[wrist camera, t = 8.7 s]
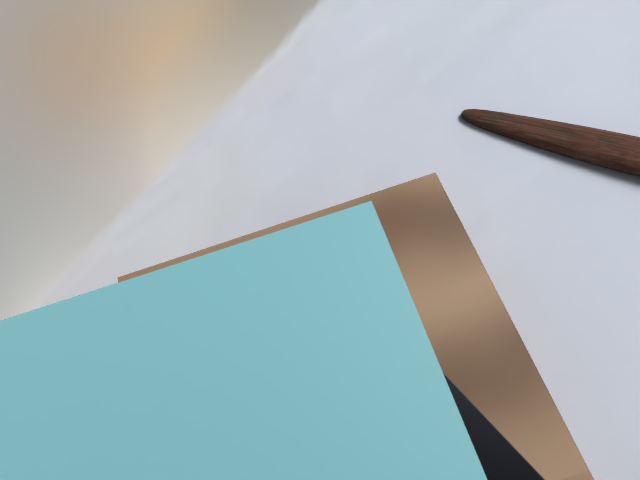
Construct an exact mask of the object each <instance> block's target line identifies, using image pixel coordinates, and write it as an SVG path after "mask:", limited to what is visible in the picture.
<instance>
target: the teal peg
mask: <svg viewBox="0 0 640 480" xmlns="http://www.w3.org/2000/svg"><path fill="white" fill-rule="evenodd" d="M0 480H487V478H486V475H485V473H484V470H483V468H482V466H481V463H480V461H479V458H478V456H477V454H476V451H475V449H474V446H473V444H472V442H471V439H470V437H469V434H468V432H467V429H466V427H465V425H464V422H463V420H462V417H461V415H460V413H459V410H458V408H457V405H456V403H455V401H454V398H453V396H452V393H451V391H450V389H449V386H448V384H447V381H446V379H445V377H444V374H443V372H442V369H441V367H440V364H439V362H438V360H437V357H436V355H435V352H434V350H433V348H432V345H431V343H430V340H429V338H428V336H427V333H426V331H425V328H424V326H423V324H422V321H421V319H420V316H419V314H418V312H417V309H416V307H415V304H414V302H413V299H412V297H411V295H410V292H409V290H408V287H407V285H406V283H405V280H404V278H403V275H402V273H401V271H400V268H399V266H398V263H397V261H396V259H395V256H394V254H393V251H392V249H391V247H390V244H389V242H388V239H387V237H386V234H385V232H384V230H383V227H382V225H381V222H380V220H379V218H378V215H377V213H376V210H375V208H374V206H373V203H372V201H369V202H366V203H363V204H360V205H357V206H353V207H350V208H347V209H344V210H341V211H338V212H335V213H332V214H329V215H326V216H323V217H320V218H316V219H313V220H310V221H307V222H304V223H301V224H298V225H295V226H292V227H289V228H286V229H283V230H279V231H276V232H273V233H270V234H267V235H264V236H261V237H258V238H255V239H252V240H249V241H245V242H242V243H239V244H236V245H233V246H230V247H227V248H224V249H221V250H218V251H215V252H212V253H208V254H205V255H202V256H199V257H196V258H193V259H190V260H187V261H184V262H181V263H178V264H175V265H171V266H168V267H165V268H162V269H159V270H156V271H153V272H150V273H147V274H144V275H141V276H137V277H134V278H131V279H128V280H125V281H122V282H119V283H116V284H113V285H110V286H107V287H104V288H100V289H97V290H94V291H91V292H88V293H85V294H82V295H79V296H76V297H73V298H70V299H67V300H63V301H60V302H57V303H54V304H51V305H48V306H45V307H42V308H39V309H36V310H33V311H29V312H26V313H23V314H20V315H17V316H14V317H11V318H8V319H5V320H2V321H0Z"/></svg>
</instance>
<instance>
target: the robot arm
mask: <svg viewBox="0 0 640 480" xmlns="http://www.w3.org/2000/svg"><path fill="white" fill-rule="evenodd" d="M443 374H444V373H443ZM444 377H445V379H446V381H447V384H448V386H449V389H450V391H451V393H452V396H453V398H454V401H455V403H456V405H457V408H458V410H459V413H460V415H461V417H462V420H463V422H464V425H465V427H466V429H467V432H468V434H469V437H470V439H471V442H472V444H473V446H474V449H475V451H476V454H477V456H478V458H479V461H480V463H481V466H482V468H483V470H484V473H485V475H486V478H487V480H545V479H544V478H543V477H542V476H541V475H540V474H539V473H538V472H537V471H536V469H535V468H534V467H533V466H532V465H531V464H530V463H529V462H528V461H527V460H526V459H525V458H524V457H523V456H522V455H521V454H520V453H519V452H518V451H517V449H516V448H515V447H514V446H513V445H512V444H511V443H510V442H509V441H508V440H507V439H506V438H505V437H504V436H503V435H502V434H501V433H500V432H499V431H498V430H497V428H496V427H495V426H494V425H493V424H492V423H491V422H490V421H489V420H488V419H487V418H486V417H485V416H484V415H483V414H482V413H481V412H480V411H479V410H478V408H477V407H476V406H475V405H474V404H473V403H472V402H471V401H470V400H469V399H468V398H467V397H466V396H465V395H464V394H463V393H462V392H461V391H460V390H459V388H458V387H457V386H456V385H455V384H454V383H453V382H452V381H451V380H450V379H449V378H448V377H447V376H446V375H445V374H444Z"/></svg>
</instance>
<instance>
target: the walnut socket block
mask: <svg viewBox="0 0 640 480" xmlns="http://www.w3.org/2000/svg"><path fill="white" fill-rule="evenodd" d="M369 201H372V203H373V206H374V208H375V210H376V213H377V215H378V218H379V220H380V222H381V225H382V227H383V230H384V232H385V234H386V237H387V239H388V242H389V244H390V247H391V249H392V251H393V254H394V256H395V259H396V261H397V263H398V266H399V268H400V271H401V273H402V275H403V278H404V280H405V283H406V285H407V287H408V290H409V292H410V295H411V297H412V299H413V302H414V304H415V307H416V309H417V312H418V314H419V316H420V319H421V321H422V324H423V326H424V328H425V331H426V333H427V336H428V338H429V340H430V343H431V345H432V348H433V350H434V352H435V355H436V357H437V360H438V362H439V364H440V367H441V369H442V372H443V373H444V374H445V375H446V376H447V377H448V378H449V379H450V380H451V381H452V382H453V383H454V384H455V385H456V386H457V387H458V388H459V390H460V391H461V392H462V393H463V394H464V395H465V396H466V397H467V398H468V399H469V400H470V401H471V402H472V403H473V404H474V405H475V406H476V407H477V408H478V410H479V411H480V412H481V413H482V414H483V415H484V416H485V417H486V418H487V419H488V420H489V421H490V422H491V423H492V424H493V425H494V426H495V427H496V428H497V430H498V431H499V432H500V433H501V434H502V435H503V436H504V437H505V438H506V439H507V440H508V441H509V442H510V443H511V444H512V445H513V446H514V447H515V448H516V449H517V451H518V452H519V453H520V454H521V455H522V456H523V457H524V458H525V459H526V460H527V461H528V462H529V463H530V464H531V465H532V466H533V467H534V468H535V469H536V471H537V472H538V473H539V474H540V475H541V476H542V477H543V478H544V479H545V480H594V479H593V477H592V475H591V473H590V471H589V469H588V467H587V465H586V463H585V461H584V459H583V457H582V455H581V453H580V451H579V450H578V448H577V446H576V444H575V442H574V440H573V438H572V436H571V434H570V432H569V430H568V428H567V426H566V424H565V422H564V421H563V419H562V417H561V415H560V413H559V411H558V409H557V407H556V405H555V403H554V401H553V399H552V397H551V395H550V393H549V391H548V390H547V388H546V386H545V384H544V382H543V380H542V378H541V376H540V374H539V372H538V370H537V368H536V366H535V364H534V362H533V360H532V359H531V357H530V355H529V353H528V351H527V349H526V347H525V345H524V343H523V341H522V339H521V337H520V335H519V333H518V331H517V329H516V328H515V326H514V324H513V322H512V320H511V318H510V316H509V314H508V312H507V310H506V308H505V306H504V304H503V302H502V300H501V299H500V297H499V295H498V293H497V291H496V289H495V287H494V285H493V283H492V281H491V279H490V277H489V275H488V273H487V271H486V269H485V268H484V266H483V264H482V262H481V260H480V258H479V256H478V254H477V252H476V250H475V248H474V246H473V244H472V242H471V240H470V238H469V237H468V235H467V233H466V231H465V229H464V227H463V225H462V223H461V221H460V219H459V217H458V215H457V213H456V211H455V209H454V207H453V206H452V204H451V202H450V200H449V198H448V196H447V194H446V192H445V190H444V188H443V186H442V184H441V182H440V180H439V178H438V177H437V175H436V173H433V174H430V175H427V176H424V177H420V178H417V179H414V180H411V181H408V182H405V183H402V184H399V185H396V186H393V187H390V188H387V189H384V190H381V191H378V192H375V193H372V194H369V195H366V196H363V197H360V198H357V199H354V200H351V201H348V202H345V203H342V204H339V205H336V206H333V207H330V208H327V209H324V210H321V211H318V212H315V213H312V214H309V215H306V216H303V217H300V218H297V219H294V220H291V221H288V222H284V223H281V224H278V225H275V226H272V227H269V228H266V229H263V230H260V231H257V232H254V233H251V234H248V235H245V236H242V237H239V238H236V239H233V240H230V241H227V242H224V243H221V244H218V245H215V246H212V247H209V248H206V249H203V250H200V251H197V252H194V253H191V254H188V255H185V256H182V257H179V258H176V259H173V260H170V261H167V262H164V263H161V264H158V265H155V266H152V267H148V268H145V269H142V270H139V271H136V272H133V273H130V274H127V275H124V276H121V277H118V283H119V282H122V281H125V280H128V279H131V278H134V277H137V276H141V275H144V274H147V273H150V272H153V271H156V270H159V269H162V268H165V267H168V266H171V265H175V264H178V263H181V262H184V261H187V260H190V259H193V258H196V257H199V256H202V255H205V254H208V253H212V252H215V251H218V250H221V249H224V248H227V247H230V246H233V245H236V244H239V243H242V242H245V241H249V240H252V239H255V238H258V237H261V236H264V235H267V234H270V233H273V232H276V231H279V230H283V229H286V228H289V227H292V226H295V225H298V224H301V223H304V222H307V221H310V220H313V219H316V218H320V217H323V216H326V215H329V214H332V213H335V212H338V211H341V210H344V209H347V208H350V207H353V206H357V205H360V204H363V203H366V202H369Z"/></svg>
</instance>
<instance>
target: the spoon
mask: <svg viewBox="0 0 640 480" xmlns="http://www.w3.org/2000/svg"><path fill="white" fill-rule="evenodd" d="M461 115H462V117H463V118H464V119H465V120H467V121H469V122H470V123H472V124H475V125H477V126H479V127H482V128H484V129H487V130H489V131H492V132H495V133H497V134H500V135H503V136H506V137H509V138H512V139H515V140H518V141H521V142H524V143H527V144H530V145H533V146H536V147H539V148H543V149H546V150H549V151H552V152H555V153H559V154H562V155H565V156H568V157H572V158H575V159H579V160H582V161H586V162H589V163H593V164H597V165H600V166H604V167H608V168H611V169H615V170H619V171H623V172H627V173H631V174H635V175H639V176H640V137H636V136H631V135H626V134H621V133H616V132H611V131H606V130H601V129H596V128H591V127H585V126H580V125H574V124H568V123H563V122H557V121H551V120H545V119H539V118H533V117H527V116H521V115H515V114H508V113H502V112H495V111H488V110H479V109H467V110H464V111H463V112H462V114H461Z"/></svg>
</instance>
